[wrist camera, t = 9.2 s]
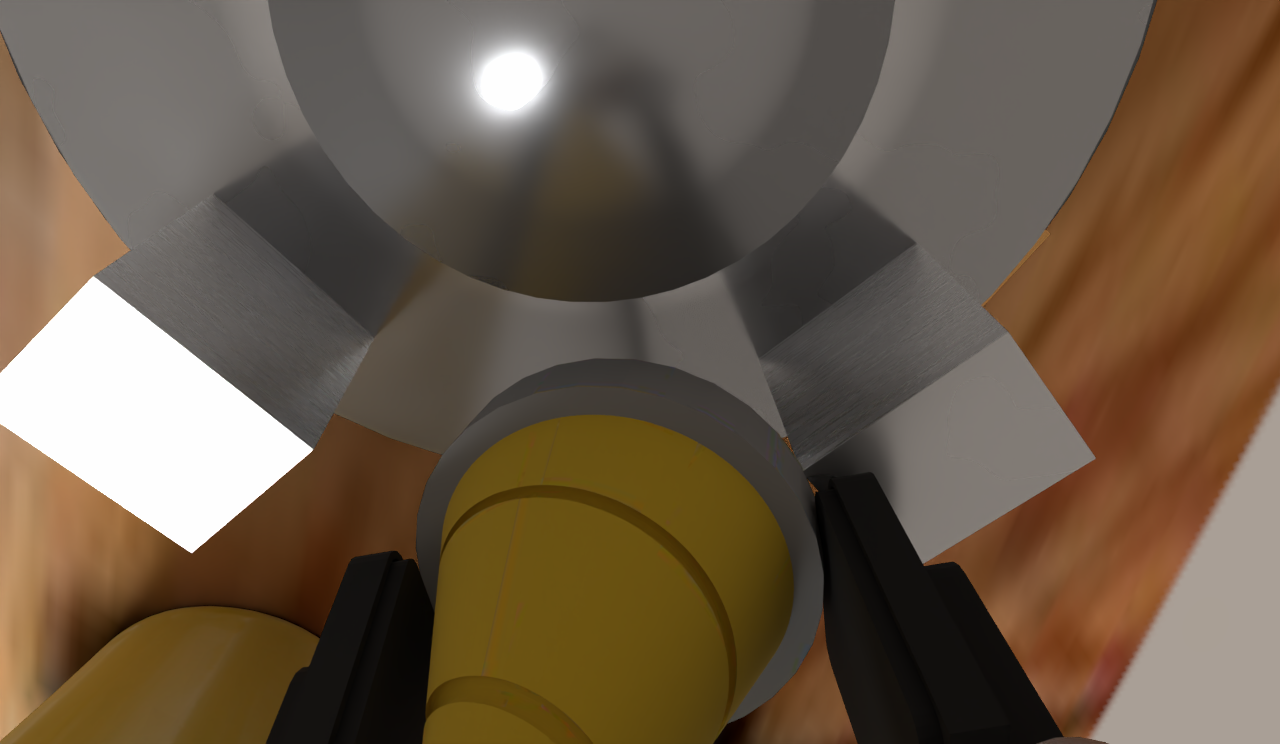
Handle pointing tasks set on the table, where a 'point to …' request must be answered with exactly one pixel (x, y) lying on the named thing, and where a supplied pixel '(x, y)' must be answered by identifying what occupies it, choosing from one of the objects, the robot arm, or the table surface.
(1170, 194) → the table surface
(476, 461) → the stepped yellow cone
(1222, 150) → the table surface
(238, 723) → the plant pot
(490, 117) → the steel lathe chuck
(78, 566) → the table surface
